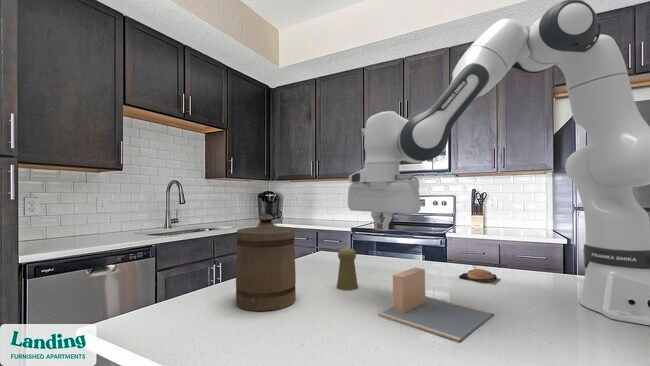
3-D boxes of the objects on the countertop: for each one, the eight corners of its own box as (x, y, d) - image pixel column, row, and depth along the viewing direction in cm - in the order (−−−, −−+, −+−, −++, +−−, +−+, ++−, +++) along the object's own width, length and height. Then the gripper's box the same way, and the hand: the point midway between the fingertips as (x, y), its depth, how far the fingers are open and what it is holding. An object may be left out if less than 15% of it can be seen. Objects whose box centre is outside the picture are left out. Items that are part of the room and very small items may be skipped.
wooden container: (283, 288, 91) (283, 211, 92) (304, 305, 78) (304, 214, 79) (230, 297, 84) (230, 213, 85) (244, 316, 71) (243, 217, 72)
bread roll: (502, 281, 99) (502, 269, 99) (494, 287, 93) (494, 274, 93) (466, 275, 106) (466, 263, 106) (456, 280, 100) (456, 268, 100)
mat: (493, 315, 71) (493, 312, 71) (459, 342, 58) (459, 339, 58) (419, 296, 84) (419, 294, 84) (378, 315, 71) (378, 313, 71)
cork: (362, 287, 91) (361, 249, 92) (345, 291, 88) (345, 251, 88) (349, 282, 96) (348, 246, 97) (332, 286, 93) (332, 248, 93)
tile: (425, 302, 78) (424, 269, 78) (402, 313, 71) (402, 277, 71) (416, 299, 80) (415, 267, 80) (393, 310, 73) (392, 275, 73)
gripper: (425, 174, 76) (425, 233, 76) (359, 177, 91) (359, 226, 91) (411, 173, 72) (411, 235, 72) (344, 176, 87) (344, 227, 86)
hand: (381, 230), depth 81 cm, fingers closed
